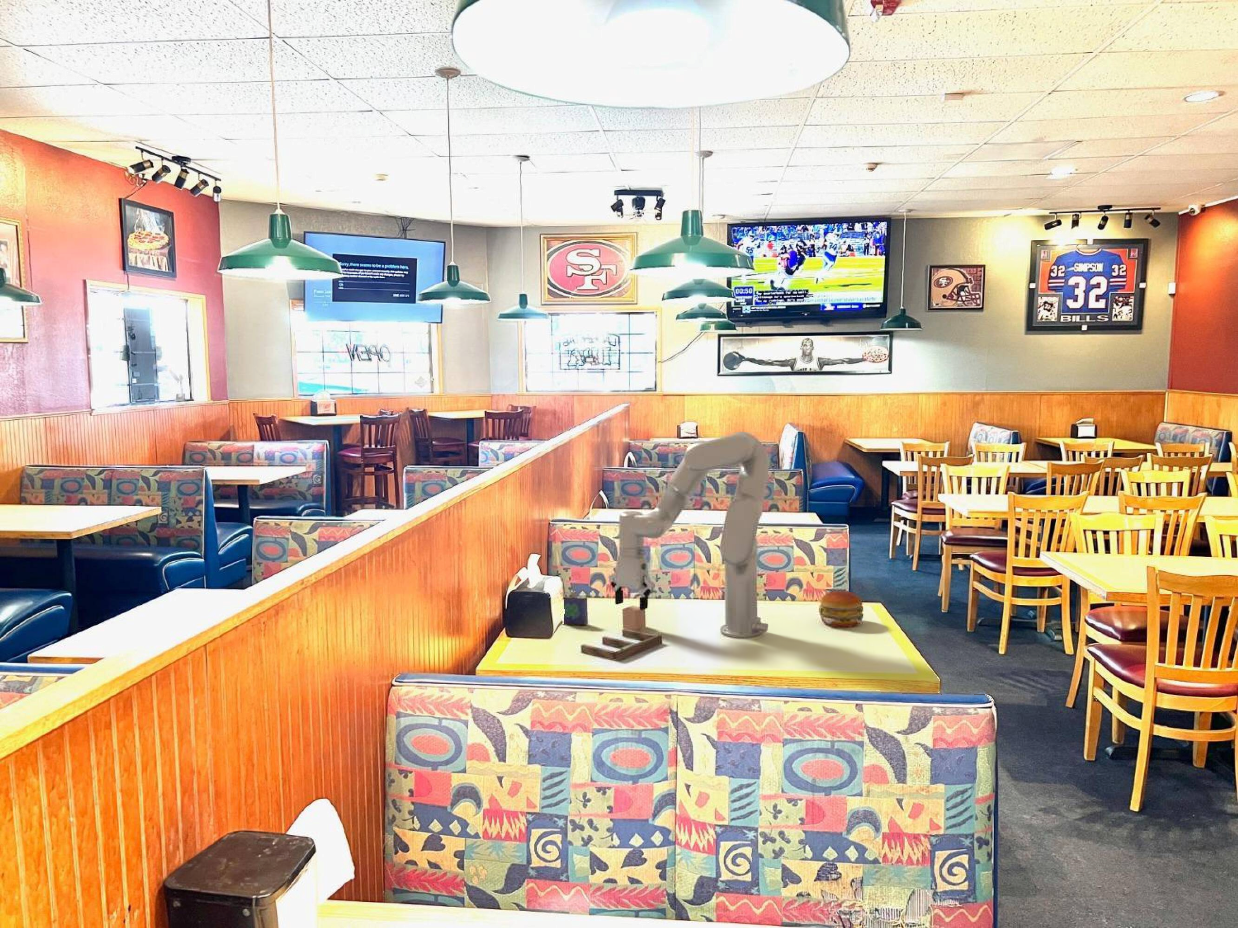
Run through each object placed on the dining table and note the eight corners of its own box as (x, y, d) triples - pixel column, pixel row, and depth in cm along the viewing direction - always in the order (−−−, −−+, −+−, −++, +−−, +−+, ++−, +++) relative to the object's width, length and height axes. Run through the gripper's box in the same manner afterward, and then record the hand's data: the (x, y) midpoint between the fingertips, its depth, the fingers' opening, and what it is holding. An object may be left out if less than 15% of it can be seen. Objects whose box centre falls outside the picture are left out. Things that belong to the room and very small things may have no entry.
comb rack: (662, 643, 257) (662, 633, 257) (619, 661, 242) (618, 650, 242) (625, 635, 266) (624, 625, 265) (581, 652, 251) (580, 642, 251)
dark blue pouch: (589, 623, 279) (588, 590, 278) (585, 626, 276) (584, 592, 275) (562, 621, 282) (561, 588, 281) (558, 624, 280) (557, 591, 279)
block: (645, 626, 274) (645, 607, 274) (635, 630, 270) (635, 611, 270) (633, 624, 277) (632, 605, 277) (623, 628, 274) (622, 609, 273)
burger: (846, 632, 262) (846, 599, 261) (809, 623, 272) (809, 591, 271) (872, 623, 271) (872, 591, 270) (835, 614, 281) (835, 584, 280)
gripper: (661, 553, 269) (661, 608, 271) (617, 546, 280) (617, 599, 282) (646, 557, 263) (645, 613, 265) (602, 549, 274) (602, 603, 276)
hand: (631, 606), depth 273 cm, fingers open, 9 cm apart
